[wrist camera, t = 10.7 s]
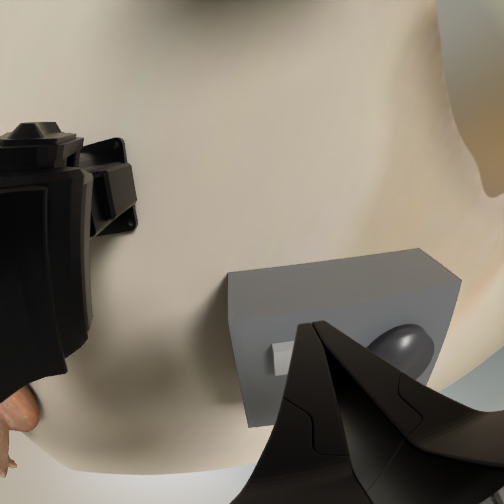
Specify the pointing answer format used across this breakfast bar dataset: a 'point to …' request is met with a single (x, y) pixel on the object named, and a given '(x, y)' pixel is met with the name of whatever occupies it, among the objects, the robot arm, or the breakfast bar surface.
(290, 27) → the breakfast bar surface
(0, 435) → the ceramic jug
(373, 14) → the breakfast bar surface
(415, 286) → the camera case
